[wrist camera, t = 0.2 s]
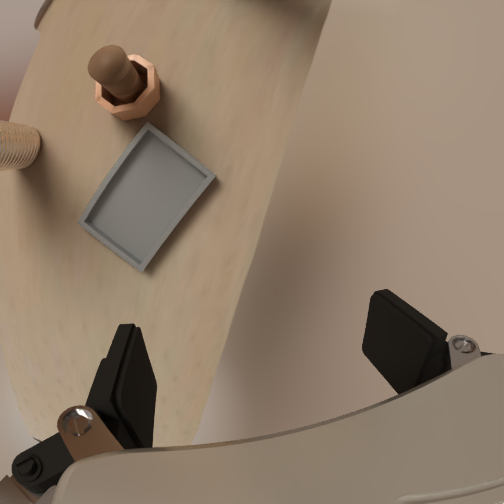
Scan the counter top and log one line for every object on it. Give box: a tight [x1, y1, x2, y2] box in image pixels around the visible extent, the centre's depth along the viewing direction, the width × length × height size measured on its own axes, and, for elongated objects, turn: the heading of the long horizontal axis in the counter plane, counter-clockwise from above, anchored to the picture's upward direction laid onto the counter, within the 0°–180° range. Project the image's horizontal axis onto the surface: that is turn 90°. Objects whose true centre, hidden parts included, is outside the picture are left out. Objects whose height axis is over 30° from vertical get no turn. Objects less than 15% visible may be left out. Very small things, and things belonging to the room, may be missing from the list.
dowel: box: [88, 45, 146, 105], centre depth 25 cm, size 4×4×13 cm
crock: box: [96, 54, 160, 121], centre depth 29 cm, size 8×8×6 cm
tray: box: [78, 122, 216, 272], centre depth 36 cm, size 17×12×2 cm
